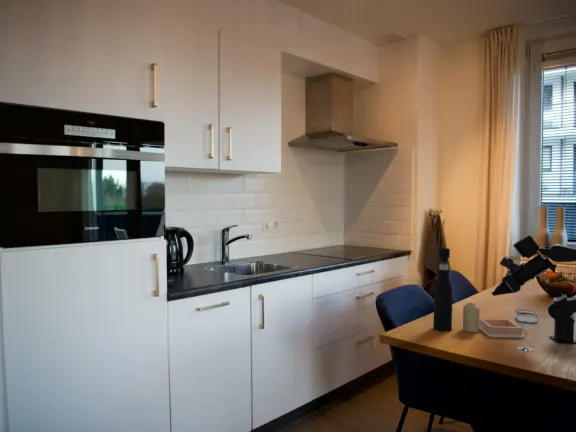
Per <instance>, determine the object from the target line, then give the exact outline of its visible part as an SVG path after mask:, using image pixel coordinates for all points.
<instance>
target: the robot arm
mask: <svg viewBox="0 0 576 432" xmlns="http://www.w3.org/2000/svg"><path fill="white" fill-rule="evenodd" d="M512 246H513V248H514V250H516V251H517V252H518V253H519V255H520V256H521V257H522V258H526V259H528V260H527V261H526V262H522V263H519V262H517V261H516V260H514V259H513V258H511V257H509V256H507V255H504V256H503V258H502V259H501V261H500V262H499V265H500V266H501V267H504V268H506V269H507V270H508V271H507V272H506V274H505V275H504V276H503V277H502V279H501V282H500V283H499V284H498V285H497V286H496V287H495V288H494V290H493V291H491V295H492V296H493V297H495V296H503V295H509V294H515V293H517V292H520V291H521V290H522V289H521V288H522V287H523V286H524V285H525V284H526V283H528V282H529V281H531V280H532V281H533V280H534V279H535V278H536V277H537V276H539V275H541V274H543V273H544V272H546V271H548V270H549V269H550V271H551V272H552V273H553V274H554V273H556V269H557V267H558V264H556V263H571V262H572V263H573V262H574V263H575V262H576V247H575V248H574V247H572V246H568V245H564V244H561V243H555V244H552V245H550V246H544V245H542V246H540V244H538V243H537V242H536V240H535V239H534V237H533V236H532V235H531V234H529V235H527V236H525V237H523V239H522V238H521V239H519V240H518V241H516V242H515V243H514V244H513V245H512ZM533 256H534V257H533ZM544 256H546V257H544ZM532 257H533V258H532ZM530 258H531V259H530ZM552 261H553V262H555V263H553V262H552ZM547 313H548V315H549V317H551V318H552V319H553V320H554V321H553V322H554V324H553V325H554V326H553V335H549V338H550V339H552V340H553V341H554V342H556V343H559V344H576V340H575V339H574V337H575V336H574V335H575V322H576V319H575V316H574V314H575V313H576V296H574V297H568V296H567V294H563V295H561V296H558V297H553V300H551V301H549V302H548V306H547Z"/></svg>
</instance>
